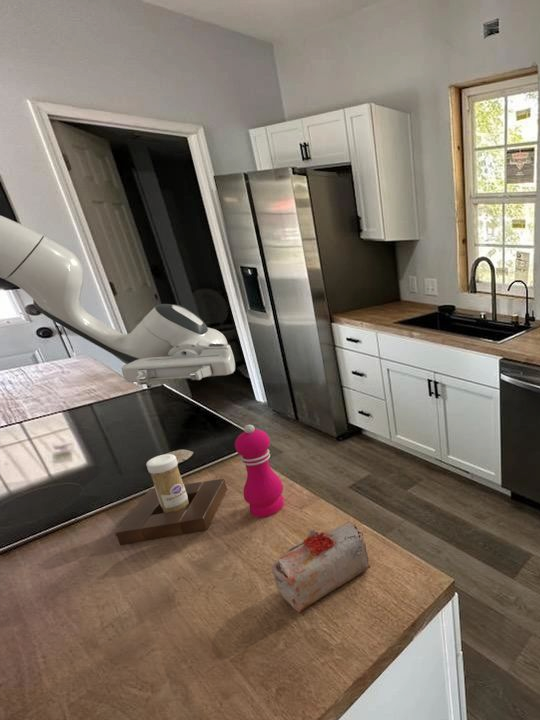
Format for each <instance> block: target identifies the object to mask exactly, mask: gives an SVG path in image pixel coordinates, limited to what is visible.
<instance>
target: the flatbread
mask: <svg viewBox="0 0 540 720" xmlns="http://www.w3.org/2000/svg"><path fill="white" fill-rule="evenodd" d="M165 454H172V455H174V456H175V457H176V459H177V462H178V464H181V463H184V462H185V461H187V460H189V459H190V458H191V457H192V456H193V455H194V451H191V450H188V449H177V450H173V451H169V452H167V453H164V454H163V455H165Z"/></svg>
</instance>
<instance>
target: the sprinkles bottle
mask: <svg viewBox="0 0 540 720" xmlns="http://www.w3.org/2000/svg"><path fill="white" fill-rule="evenodd" d="M164 454H165V455H164ZM164 454H161V455H160V454H159V455H156V456H154V457H152V458H150V459H148V461H146V463H145V464H146V469H147V471H148V473H149V475H150V476H151V479H152V482H153V487H154V489H155V490H156V493H157V496H158V499H159V502H160V505H161V507H162V509H163V511H164V513H168V512H174V511H180V510H187V508H188V507H189V505H190V504H189V501H188V496H187V493H186V490H185V487H184V481H183V478H182V476H181V473H180V470H179V466H178V465H179V463H178V462H177V459H176V457H175V456H174V455H172V454H167V453H164Z"/></svg>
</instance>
